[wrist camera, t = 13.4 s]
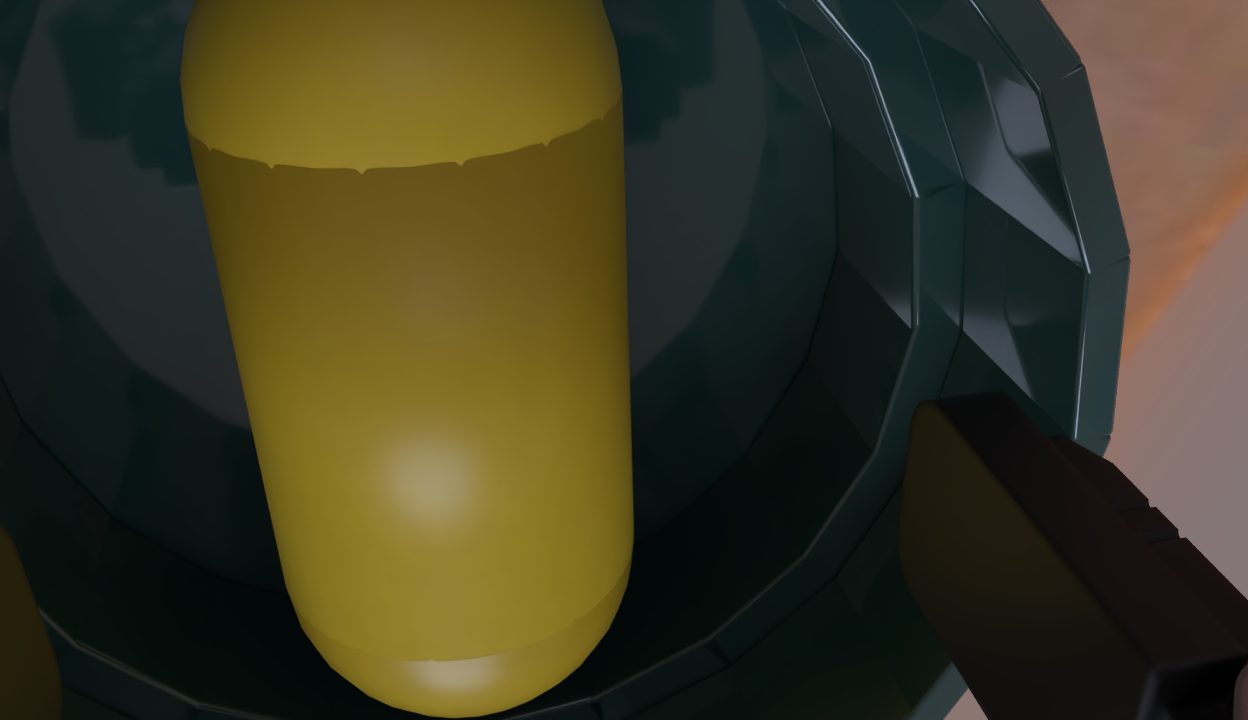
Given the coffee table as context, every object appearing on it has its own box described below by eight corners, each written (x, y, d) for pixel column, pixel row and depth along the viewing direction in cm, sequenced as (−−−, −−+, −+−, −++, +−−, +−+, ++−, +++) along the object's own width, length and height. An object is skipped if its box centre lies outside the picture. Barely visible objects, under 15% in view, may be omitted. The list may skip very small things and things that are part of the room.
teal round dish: (64, -605, 11) (-161, -859, 6) (1073, 24, 17) (1390, 161, 12) (-240, 497, 16) (-509, 861, 11) (622, 709, 22) (709, 1018, 17)
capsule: (383, -168, 14) (30, -121, 11) (705, -152, 12) (377, -87, 9) (464, 527, 19) (241, 698, 16) (699, 634, 17) (492, 859, 14)
